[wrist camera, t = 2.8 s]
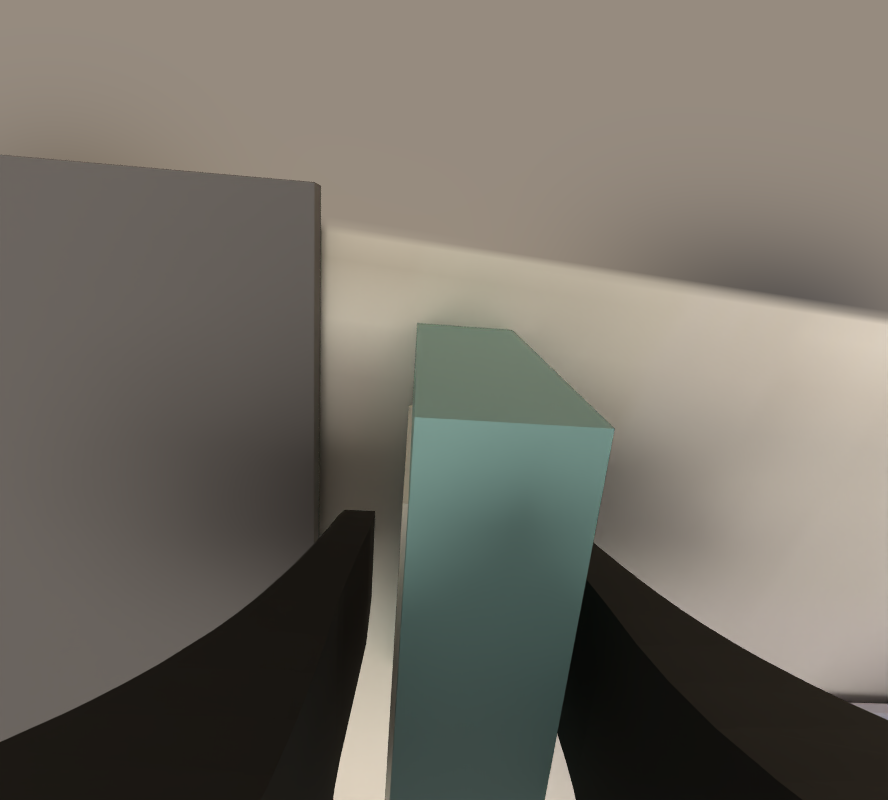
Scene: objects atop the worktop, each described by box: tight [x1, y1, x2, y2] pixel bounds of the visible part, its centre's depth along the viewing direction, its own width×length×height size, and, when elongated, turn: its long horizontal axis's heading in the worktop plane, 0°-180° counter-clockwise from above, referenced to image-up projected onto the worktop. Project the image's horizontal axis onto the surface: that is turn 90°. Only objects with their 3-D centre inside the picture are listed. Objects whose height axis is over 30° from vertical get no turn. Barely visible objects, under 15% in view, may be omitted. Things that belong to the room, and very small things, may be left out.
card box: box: [385, 323, 614, 800], centre depth 9 cm, size 9×2×6 cm, turn 176°
